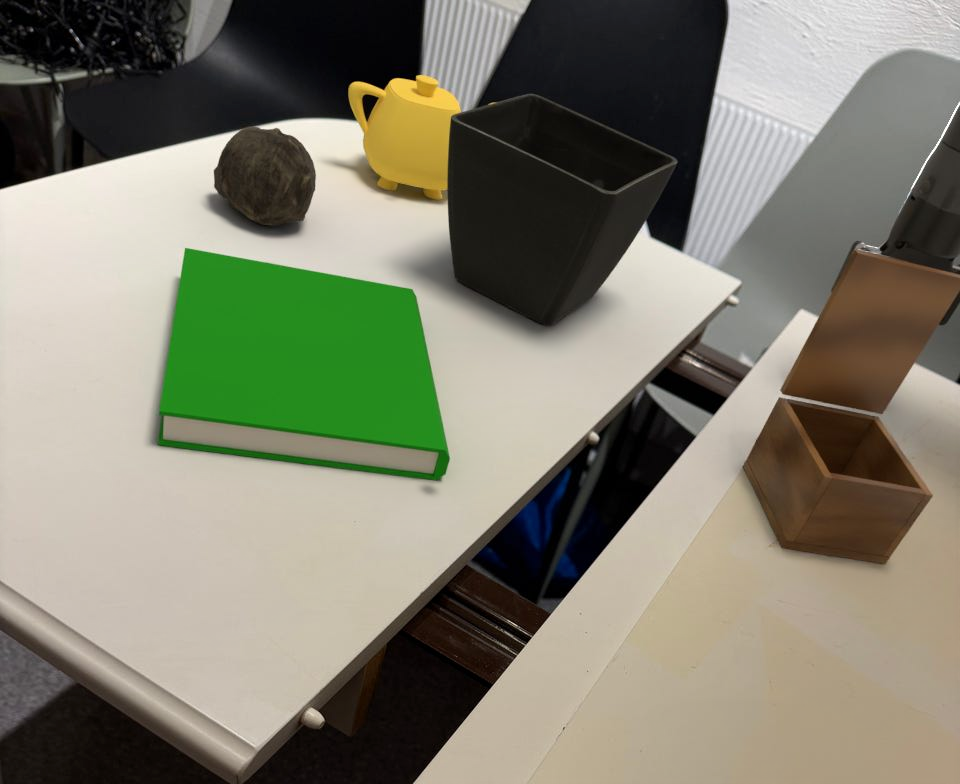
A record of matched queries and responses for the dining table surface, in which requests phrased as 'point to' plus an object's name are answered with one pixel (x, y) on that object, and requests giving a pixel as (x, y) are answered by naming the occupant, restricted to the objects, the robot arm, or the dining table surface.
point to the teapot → (407, 132)
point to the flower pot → (544, 202)
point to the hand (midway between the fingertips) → (867, 347)
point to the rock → (266, 176)
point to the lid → (871, 332)
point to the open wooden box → (834, 482)
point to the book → (300, 369)
